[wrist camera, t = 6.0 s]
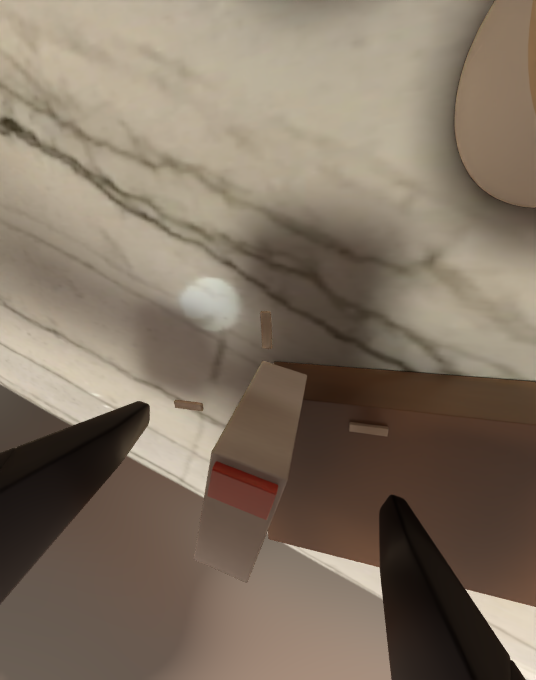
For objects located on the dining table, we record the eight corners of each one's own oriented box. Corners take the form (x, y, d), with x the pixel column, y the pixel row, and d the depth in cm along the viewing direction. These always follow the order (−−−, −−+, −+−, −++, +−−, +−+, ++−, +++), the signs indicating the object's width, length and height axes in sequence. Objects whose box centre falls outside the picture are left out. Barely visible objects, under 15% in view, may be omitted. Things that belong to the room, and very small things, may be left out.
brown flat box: (223, 479, 18) (202, 525, 15) (193, 292, 13) (152, 309, 10) (623, 561, 13) (707, 656, 10) (860, 299, 7) (1191, 340, 4)
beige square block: (277, 461, 11) (244, 594, 7) (241, 448, 12) (189, 569, 7) (307, 374, 9) (285, 491, 5) (262, 360, 10) (206, 460, 5)
